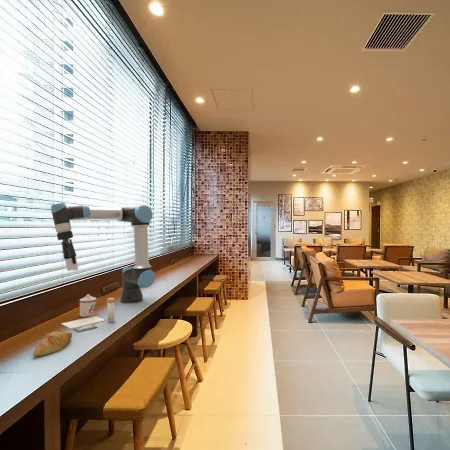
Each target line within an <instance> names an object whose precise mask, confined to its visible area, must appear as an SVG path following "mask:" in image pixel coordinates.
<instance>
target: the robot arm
mask: <svg viewBox="0 0 450 450" xmlns="http://www.w3.org/2000/svg"><path fill="white" fill-rule="evenodd" d="M50 211H51V216H52V219H53V224H54V227H53V229H54V230H55V233H56V237H57V238H56V239H57V240H58V241H61V249H62V255H63V259H64V261H65V266H66V271H67V272H69V271H77V270H79V266H78V261H77V257H76V256H77V253H76V249H75V247H74V245H73V241H72V238H74V235H73V231H72V225H71V222H70V221H72V220H97V221H98V220H99V221H101V220H105V221H106V220H111V221H112V220H113V221H115V220H116V222H123V223H124V222H125V223H129V224H131V225H130V226H131V227H132V228H133V236H134V237H133V239H134V241H133V242H134V262H135V265H134V266H128V267H127V266H126V267H123V268H122V273H121V274H122V275H121V276H122V290H121V292H120V295H119V296H120V297H119V301H120V302H121V303H127V304H128V303H130V304H131V303H138V302H141V301H143V300H144V296H143V292H142V290H141V288H143V289H147V288H150V287H151V286H152V285H153V284H154V283H155V280H156V274H155V272H154V271H153V270H152V265H151V264H150V262H149V261H150V260H149V236H148V235H149V234H148V228H149V227H150V222H151V220H152V219H153V211H152V209H151V207H150V206H148V205H147V204H136V205H135V204H134V205H127V206H118V207H115V208H113V207H93V206H91V207H90V206H89V205H88V204H78V205H70V206H67V203H66V202H57V203H53V204H52V205H50Z"/></svg>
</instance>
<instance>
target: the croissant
mask: <svg viewBox="0 0 450 450" xmlns="http://www.w3.org/2000/svg"><path fill="white" fill-rule="evenodd" d="M72 337H73V333H72V332H65V331H62V330H55V331H52V332H49V333H47V334H46V335H44V336H43V338H42V340H41V341H40V342H39V344H38V345H36V347H35V350H34V351H33V353H32V356H33V357H41V356H45V355H49V354H53V353H55V352H56V353H57V352H59V351H61V350H62V349H64V348H66V347H67V345H68V344H69V342H70V341H71V340H72Z"/></svg>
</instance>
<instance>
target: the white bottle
mask: <svg viewBox="0 0 450 450" xmlns="http://www.w3.org/2000/svg"><path fill="white" fill-rule="evenodd" d="M106 302H107V305H106V306H107V307H106V308H107V310H106V311H107V315H106V316H107V317H106V321H107V323H109V324H111V323H112V322H113V323H115V321H116V320H115V319H116V315H115V314H116V312H115V310H116V299H115V297H108V298H107V299H106Z"/></svg>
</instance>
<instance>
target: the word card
mask: <svg viewBox="0 0 450 450" xmlns="http://www.w3.org/2000/svg"><path fill="white" fill-rule="evenodd" d="M97 328H98V326H97V325H96V324H90V325H85V326H81V327H77V328H73V331H75V332H77V333H83V332H85V331H88V330H89V331H90V330H94V329H97Z"/></svg>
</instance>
